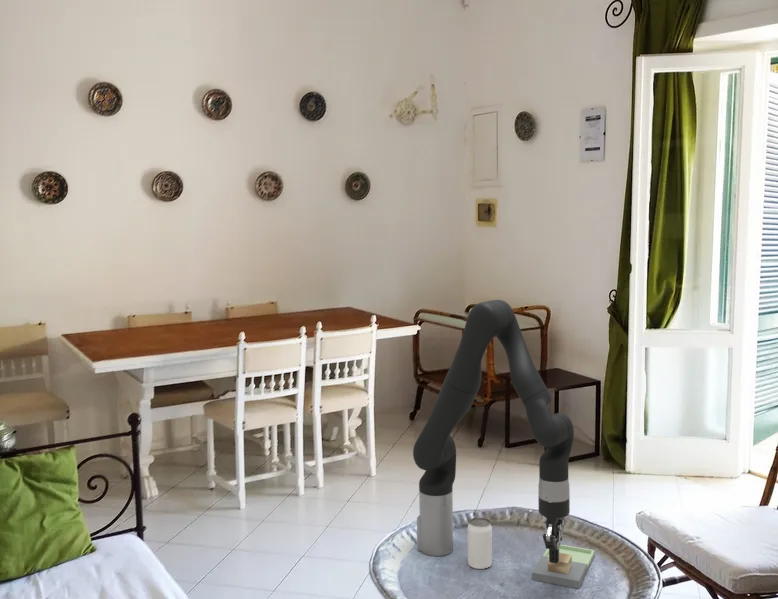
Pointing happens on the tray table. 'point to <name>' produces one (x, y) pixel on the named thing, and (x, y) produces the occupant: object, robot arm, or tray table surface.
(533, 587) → the tray table surface
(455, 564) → the tray table surface
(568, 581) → the plate
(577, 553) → the box
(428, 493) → the robot arm
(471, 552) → the can
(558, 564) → the tan square block
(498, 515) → the tray table surface
